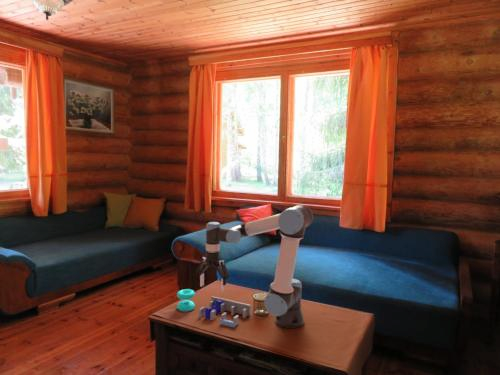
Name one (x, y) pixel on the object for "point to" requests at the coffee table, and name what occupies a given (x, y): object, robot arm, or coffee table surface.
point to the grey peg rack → (228, 306)
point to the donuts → (186, 304)
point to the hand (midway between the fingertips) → (212, 288)
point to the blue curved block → (215, 307)
